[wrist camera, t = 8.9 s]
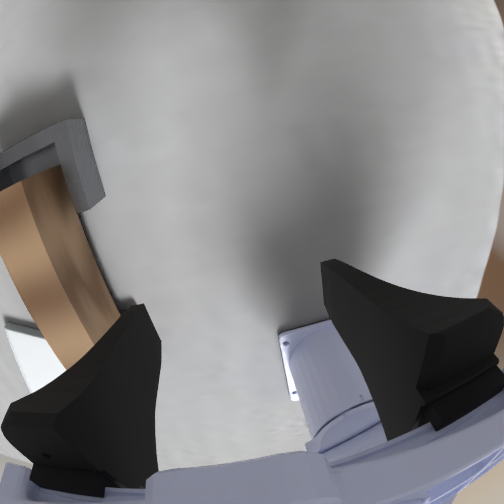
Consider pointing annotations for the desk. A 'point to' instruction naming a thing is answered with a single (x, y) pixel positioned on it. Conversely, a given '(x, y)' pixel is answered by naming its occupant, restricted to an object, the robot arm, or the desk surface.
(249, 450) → the desk surface
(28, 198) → the wooden block
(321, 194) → the desk surface
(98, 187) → the bracket
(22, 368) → the external hard drive
